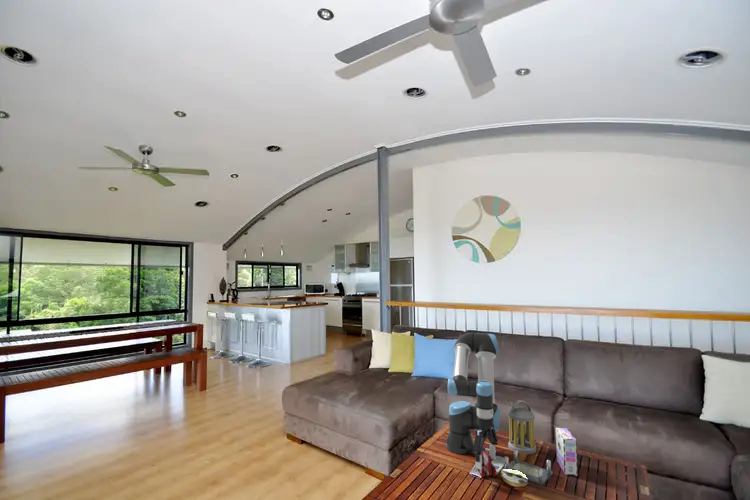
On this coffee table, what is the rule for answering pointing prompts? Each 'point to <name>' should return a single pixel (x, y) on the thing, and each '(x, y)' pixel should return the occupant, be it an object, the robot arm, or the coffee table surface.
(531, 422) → the lantern
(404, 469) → the coffee table surface
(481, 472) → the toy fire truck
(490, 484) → the coffee table surface
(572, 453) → the candy box
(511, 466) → the chassis
